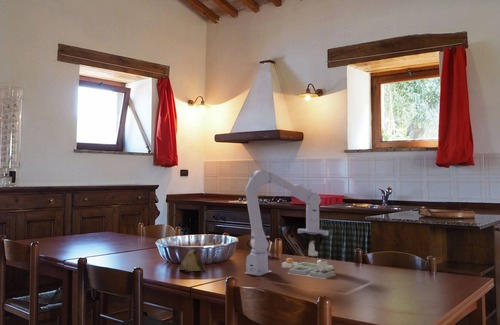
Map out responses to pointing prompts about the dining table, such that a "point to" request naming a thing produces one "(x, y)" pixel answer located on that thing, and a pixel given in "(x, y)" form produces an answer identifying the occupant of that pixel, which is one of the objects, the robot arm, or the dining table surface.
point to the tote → (311, 265)
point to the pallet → (310, 272)
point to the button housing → (288, 265)
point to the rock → (192, 262)
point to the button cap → (290, 260)
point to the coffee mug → (266, 239)
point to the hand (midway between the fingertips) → (312, 250)
